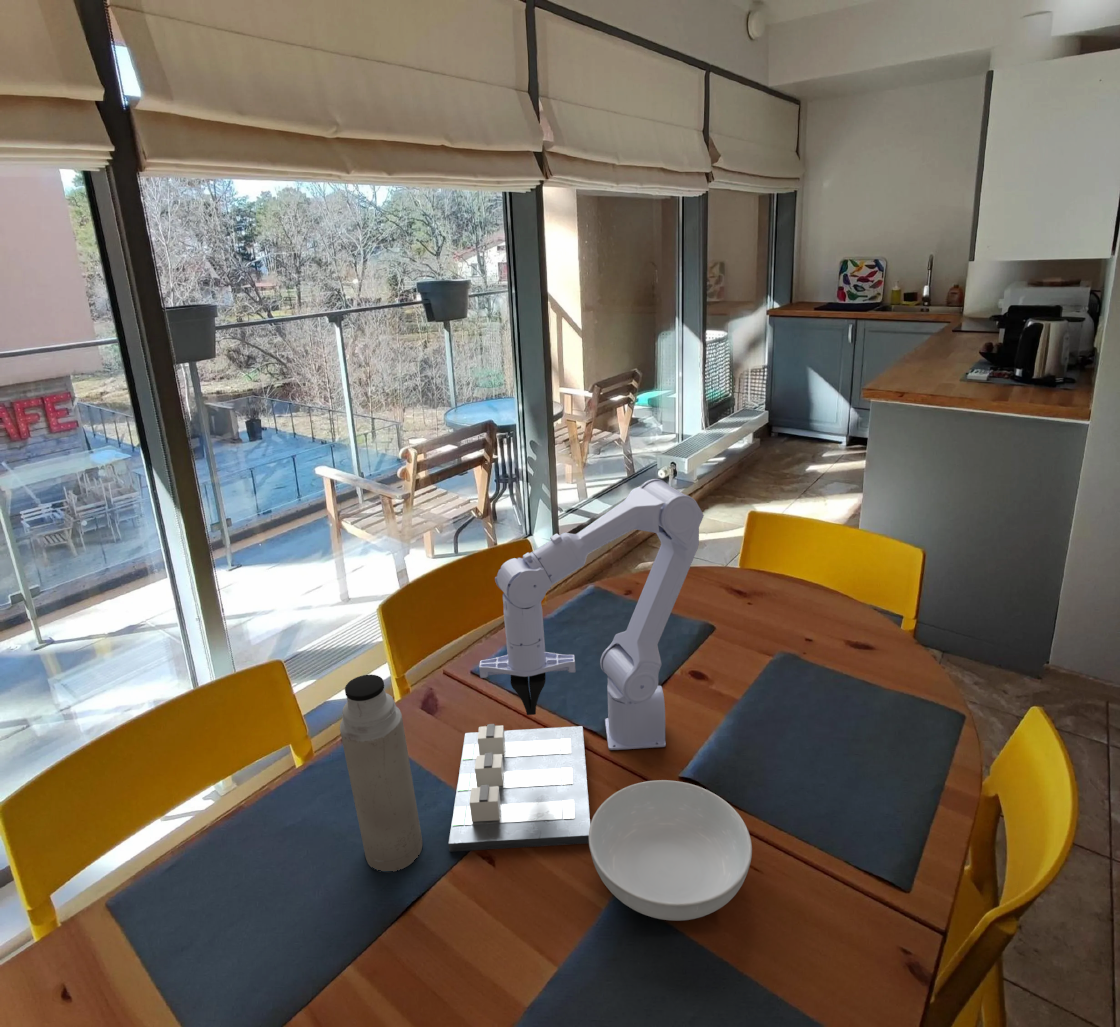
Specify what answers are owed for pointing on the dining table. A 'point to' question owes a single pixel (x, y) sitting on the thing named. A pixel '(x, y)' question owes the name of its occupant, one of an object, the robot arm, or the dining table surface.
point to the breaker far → (491, 739)
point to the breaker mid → (489, 769)
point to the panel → (527, 792)
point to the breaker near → (485, 803)
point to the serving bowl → (670, 849)
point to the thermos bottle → (380, 775)
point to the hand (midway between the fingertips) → (531, 710)
